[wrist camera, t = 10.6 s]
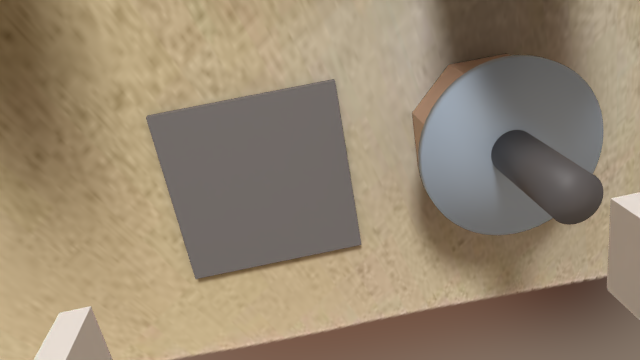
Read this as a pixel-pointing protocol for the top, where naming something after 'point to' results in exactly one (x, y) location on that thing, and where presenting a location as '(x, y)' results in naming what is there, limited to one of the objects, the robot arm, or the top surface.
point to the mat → (258, 177)
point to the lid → (513, 147)
